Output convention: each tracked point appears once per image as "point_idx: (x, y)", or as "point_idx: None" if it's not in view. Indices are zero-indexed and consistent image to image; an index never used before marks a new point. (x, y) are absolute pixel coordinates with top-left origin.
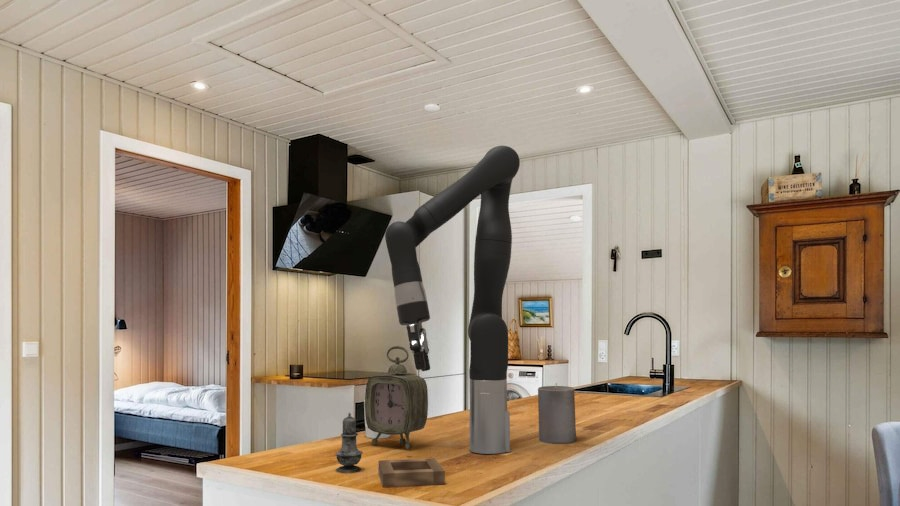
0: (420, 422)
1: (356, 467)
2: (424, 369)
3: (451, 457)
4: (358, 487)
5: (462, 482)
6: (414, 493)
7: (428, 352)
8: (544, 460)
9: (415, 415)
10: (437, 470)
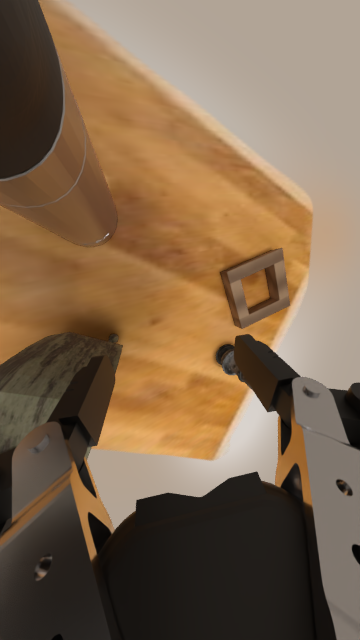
0: (86, 337)
1: (226, 349)
2: (110, 372)
3: (149, 267)
4: (279, 322)
5: (264, 232)
6: (296, 271)
7: (45, 430)
8: (135, 101)
9: (102, 345)
10: (280, 256)
